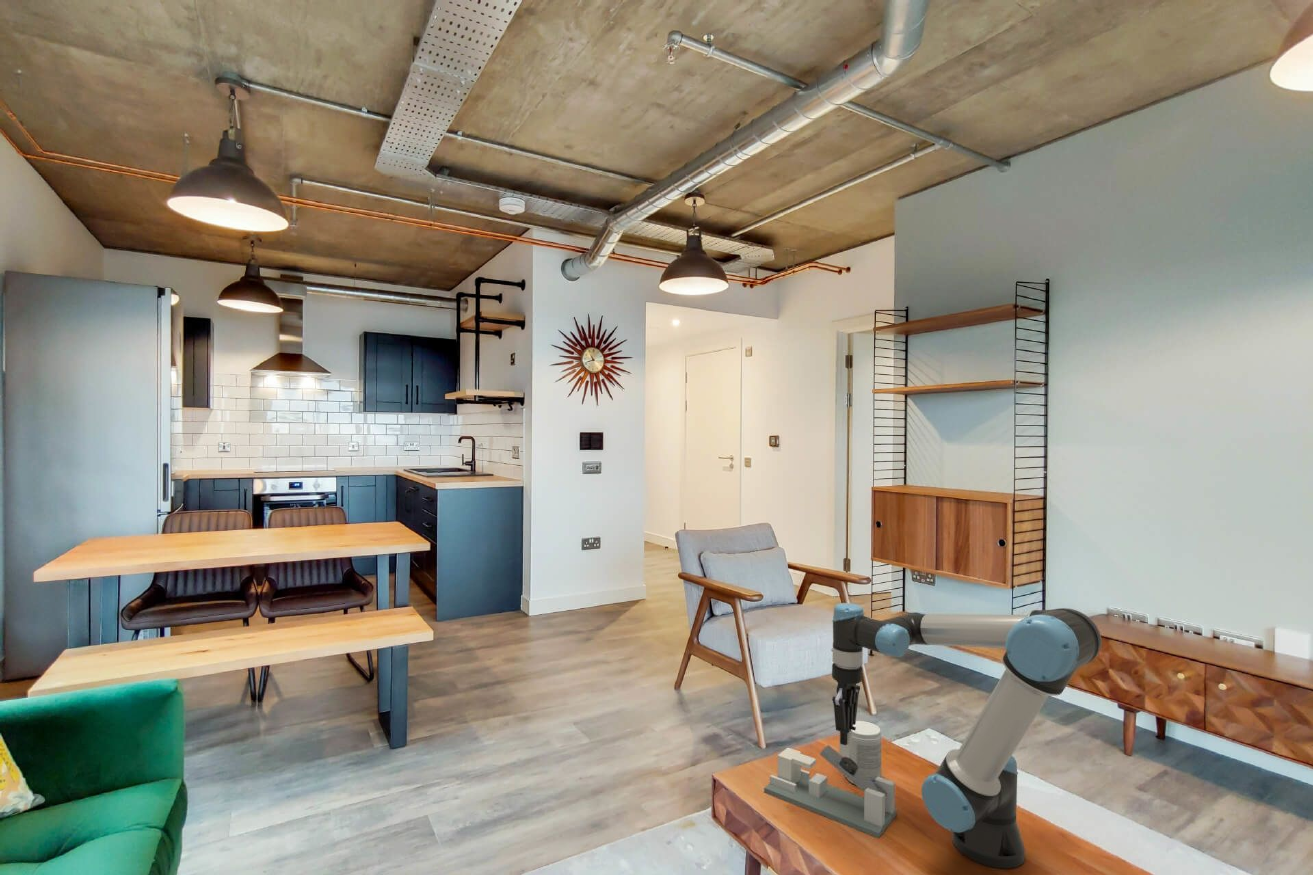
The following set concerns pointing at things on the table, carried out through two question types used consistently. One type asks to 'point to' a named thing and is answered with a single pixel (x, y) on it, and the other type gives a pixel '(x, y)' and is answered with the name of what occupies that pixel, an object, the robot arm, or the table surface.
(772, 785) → the mount
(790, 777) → the block
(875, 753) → the supplement tub
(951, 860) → the table surface
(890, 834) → the table surface
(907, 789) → the table surface
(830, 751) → the grey long flat bar
